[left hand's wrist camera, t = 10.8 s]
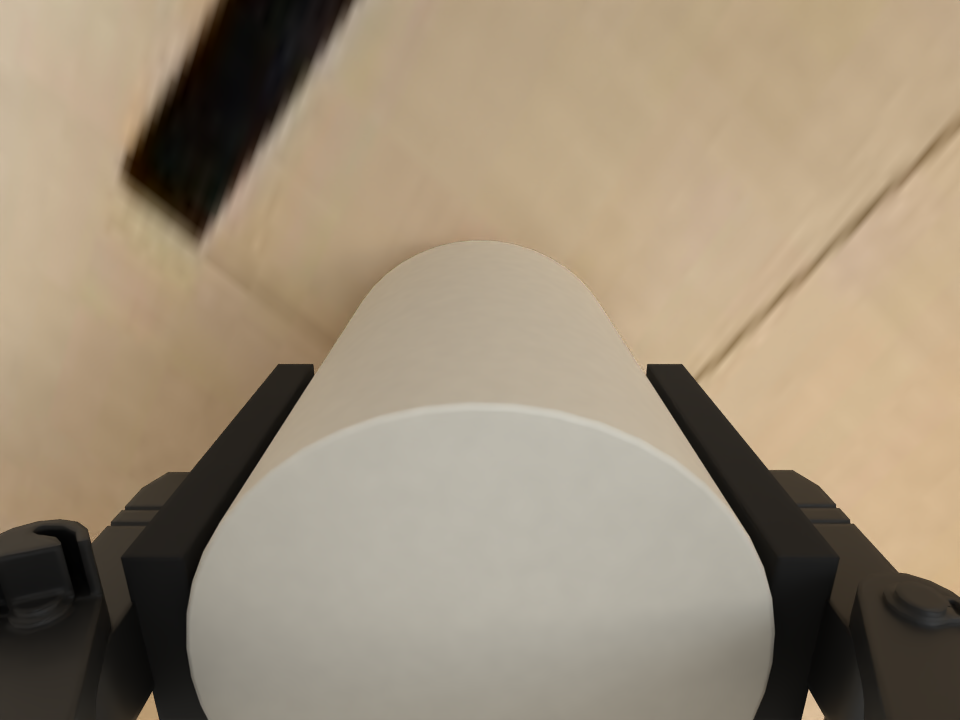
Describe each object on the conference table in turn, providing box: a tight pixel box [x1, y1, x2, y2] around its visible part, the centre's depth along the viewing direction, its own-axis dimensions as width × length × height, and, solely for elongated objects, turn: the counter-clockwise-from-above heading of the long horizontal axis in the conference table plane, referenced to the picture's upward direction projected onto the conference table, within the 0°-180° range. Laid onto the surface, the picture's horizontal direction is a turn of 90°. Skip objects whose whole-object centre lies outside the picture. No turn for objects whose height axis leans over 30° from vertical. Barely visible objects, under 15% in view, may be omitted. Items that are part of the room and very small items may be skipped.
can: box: [186, 240, 775, 720], centre depth 12 cm, size 7×7×10 cm
